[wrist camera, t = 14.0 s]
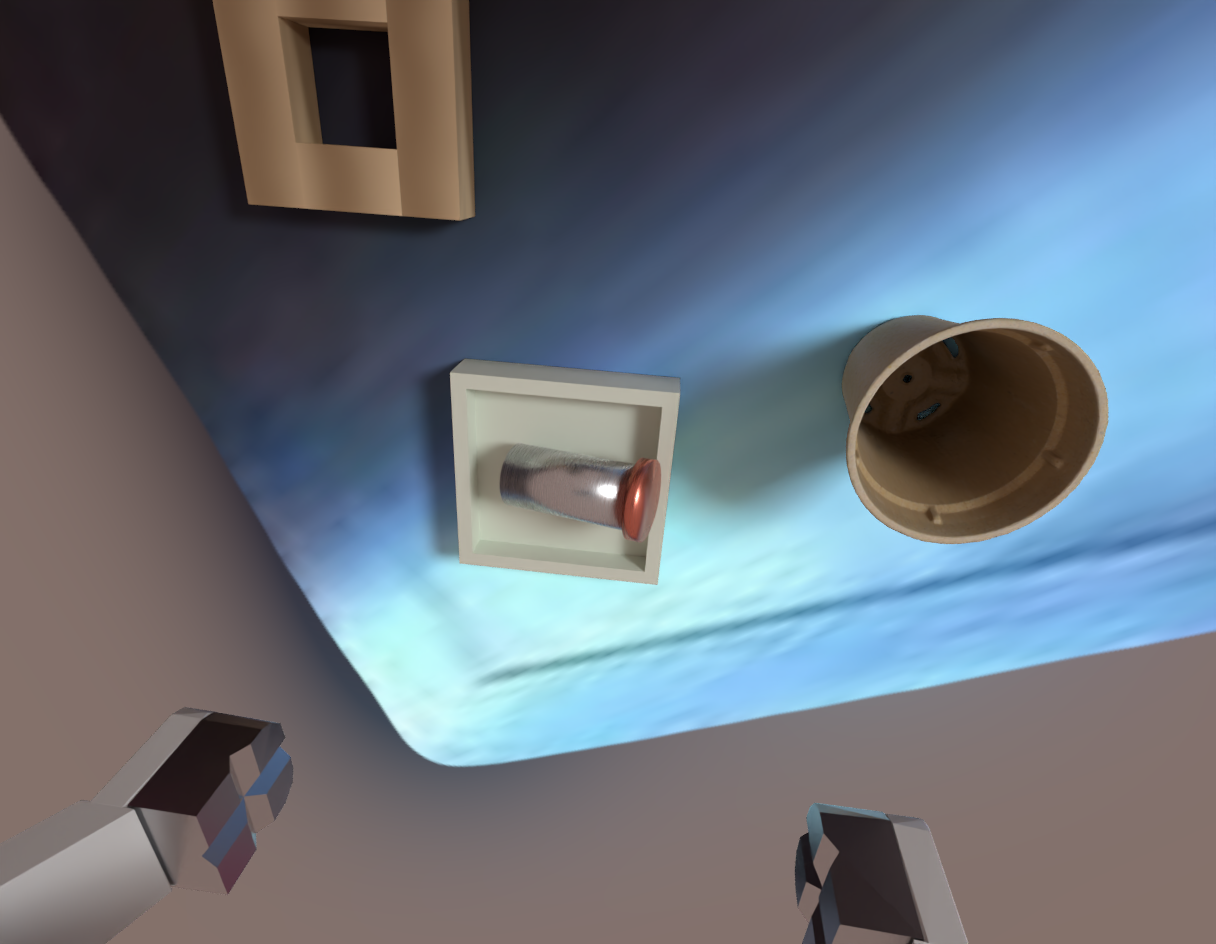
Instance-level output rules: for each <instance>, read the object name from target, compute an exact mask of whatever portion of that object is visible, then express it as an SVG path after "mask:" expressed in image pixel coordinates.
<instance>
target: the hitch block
mask: <svg viewBox="0 0 1216 944" xmlns="http://www.w3.org/2000/svg"><path fill="white" fill-rule="evenodd" d="M213 6H214V12H215V17H216V23H217V29H218V34H219V40H220V46H221V51H222V57H223V63H224V68H225V74H226V80H227V85H228V91H229V97H230V102H231V108H232V114H233V119H234V125H235V131H236V136H237V142H238V148H239V153H240V159H241V165H242V170H243V176H244V182H245V187H246V193H247V199H248V204H252V205H265V206H278V207H291V208H304V209H317V210H330V211H343V212H356V213H369V214H382V215H395V216H408V217H421V218H434V219H447V220H464V219H467V218H471V217H475V195H474V160H473V126H472V91H471V57H470V23H469V0H213ZM308 27H314V28H331V29H348V30H365V31H382V32H388V39H389V52H390V65H391V78H392V91H393V104H394V117H395V130H396V143H397V149H388V148H374V147H360V146H346V145H332V144H323V143H322V135H321V126H320V118H319V110H318V102H317V94H316V86H315V78H314V70H313V62H312V53H311V45H310V37H309V29H308Z"/></svg>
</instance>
